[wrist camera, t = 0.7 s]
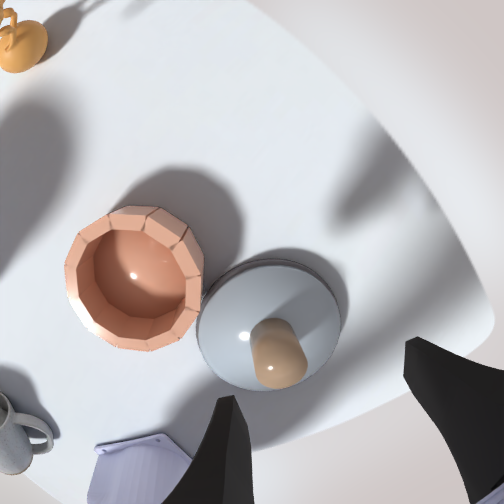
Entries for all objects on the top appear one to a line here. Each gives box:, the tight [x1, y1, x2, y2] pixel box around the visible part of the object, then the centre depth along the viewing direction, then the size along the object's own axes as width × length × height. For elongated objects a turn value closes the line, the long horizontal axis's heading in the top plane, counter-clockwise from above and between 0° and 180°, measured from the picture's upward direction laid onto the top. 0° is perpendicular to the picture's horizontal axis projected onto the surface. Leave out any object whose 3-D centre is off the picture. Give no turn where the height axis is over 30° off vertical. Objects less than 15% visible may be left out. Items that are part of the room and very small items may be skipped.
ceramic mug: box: [0, 392, 54, 475], centre depth 18 cm, size 11×8×8 cm
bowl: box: [64, 205, 204, 352], centre depth 17 cm, size 8×8×4 cm
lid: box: [198, 265, 341, 391], centre depth 18 cm, size 10×10×4 cm
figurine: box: [0, 0, 48, 73], centre depth 8 cm, size 8×6×12 cm
